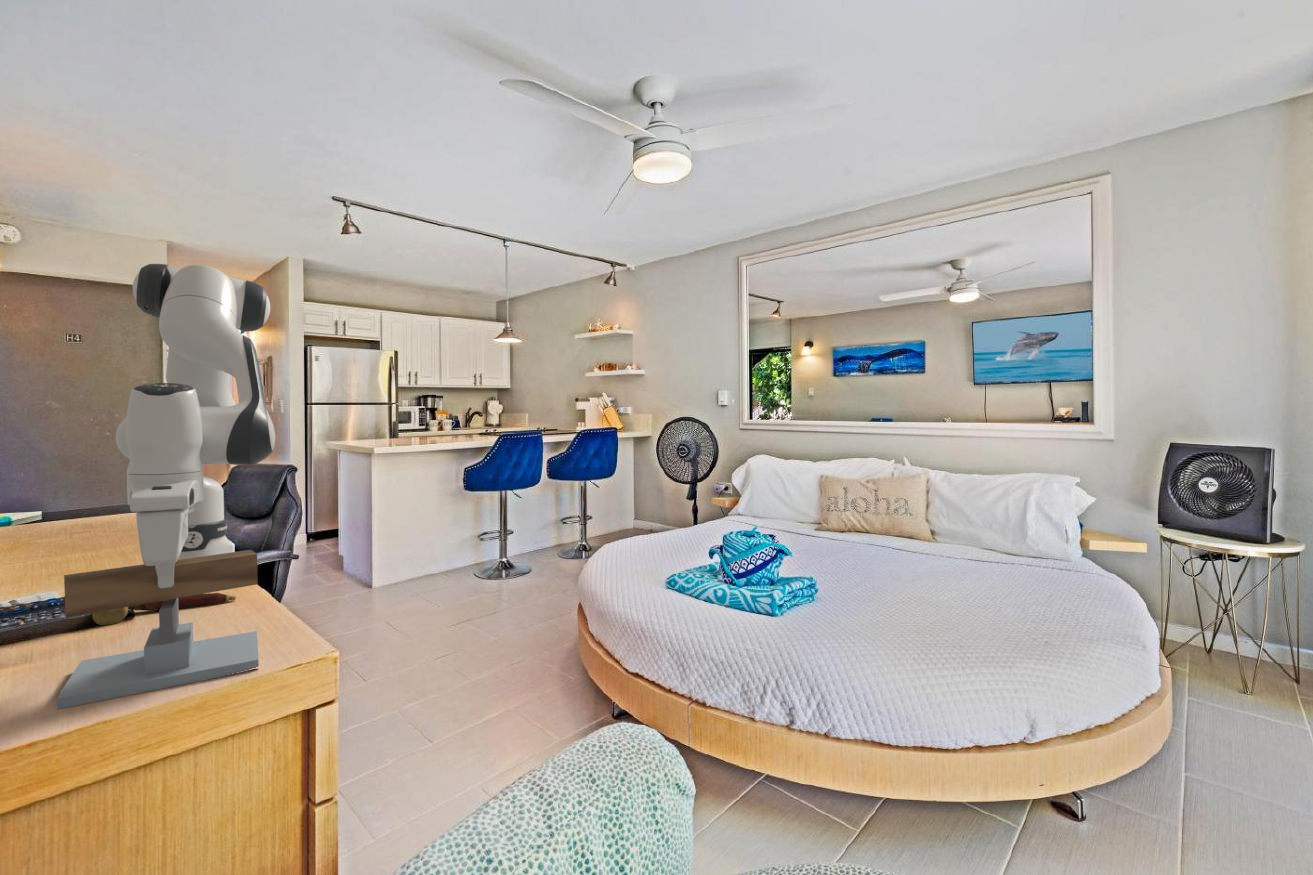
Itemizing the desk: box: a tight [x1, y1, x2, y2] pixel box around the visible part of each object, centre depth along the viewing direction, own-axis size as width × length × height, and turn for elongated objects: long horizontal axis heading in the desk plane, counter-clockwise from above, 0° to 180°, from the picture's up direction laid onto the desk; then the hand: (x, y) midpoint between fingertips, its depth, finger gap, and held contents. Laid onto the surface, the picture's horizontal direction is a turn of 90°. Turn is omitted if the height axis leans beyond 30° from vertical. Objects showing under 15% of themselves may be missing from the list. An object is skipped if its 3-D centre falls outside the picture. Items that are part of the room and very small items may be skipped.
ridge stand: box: [56, 598, 260, 710], centre depth 89 cm, size 14×22×10 cm, turn 125°
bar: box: [63, 549, 259, 618], centre depth 89 cm, size 4×22×5 cm, turn 136°
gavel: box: [92, 592, 237, 626], centre depth 116 cm, size 21×5×10 cm
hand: (168, 581), depth 89 cm, fingers closed on bar, 4 cm apart
